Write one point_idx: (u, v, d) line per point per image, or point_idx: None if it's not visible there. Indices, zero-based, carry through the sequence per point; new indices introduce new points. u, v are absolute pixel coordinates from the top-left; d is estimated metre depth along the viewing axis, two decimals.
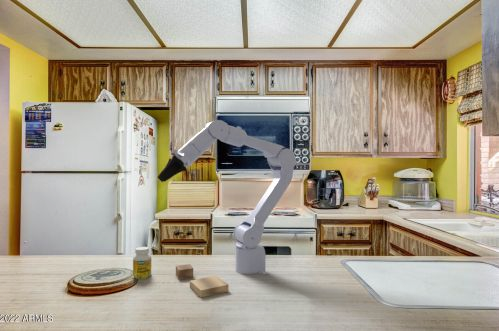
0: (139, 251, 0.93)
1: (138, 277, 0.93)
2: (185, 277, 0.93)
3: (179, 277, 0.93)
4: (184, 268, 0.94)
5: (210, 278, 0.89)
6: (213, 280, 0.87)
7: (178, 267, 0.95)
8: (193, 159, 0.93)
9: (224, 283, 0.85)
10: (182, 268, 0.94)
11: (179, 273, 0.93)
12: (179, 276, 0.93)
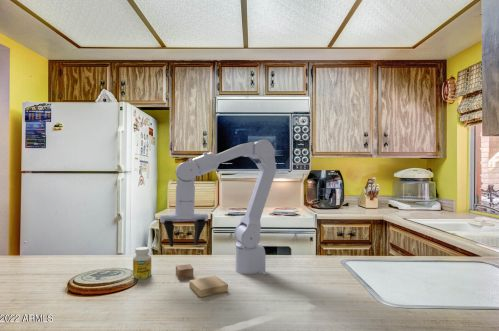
0: (139, 251, 0.93)
1: (138, 277, 0.93)
2: (185, 277, 0.93)
3: (179, 277, 0.93)
4: (184, 268, 0.94)
5: (209, 278, 0.89)
6: (212, 280, 0.87)
7: (178, 267, 0.95)
8: (180, 210, 0.93)
9: (224, 283, 0.85)
10: (182, 268, 0.94)
11: (179, 273, 0.93)
12: (179, 276, 0.93)
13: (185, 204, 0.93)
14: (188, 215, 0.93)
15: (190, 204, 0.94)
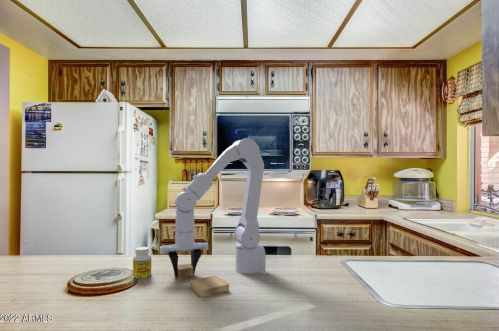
0: (139, 251, 0.93)
1: (138, 277, 0.93)
2: (185, 277, 0.93)
3: (179, 277, 0.93)
4: (184, 268, 0.94)
5: (210, 278, 0.89)
6: (213, 280, 0.87)
7: (178, 267, 0.95)
8: (179, 241, 0.93)
9: (225, 283, 0.85)
10: (182, 268, 0.94)
11: (179, 273, 0.93)
12: (179, 276, 0.93)
13: (185, 235, 0.93)
14: (188, 246, 0.93)
15: (190, 235, 0.94)
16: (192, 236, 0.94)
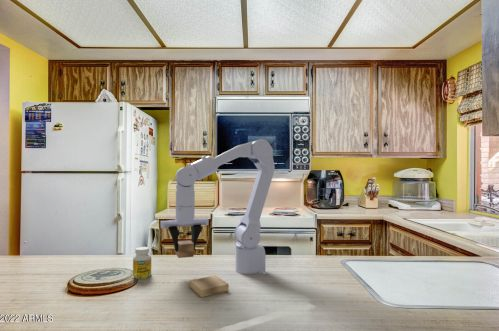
0: (139, 251, 0.93)
1: (138, 277, 0.93)
2: (186, 252, 0.93)
3: (179, 252, 0.93)
4: (185, 243, 0.94)
5: (210, 277, 0.89)
6: (212, 279, 0.87)
7: (179, 242, 0.95)
8: (180, 216, 0.93)
9: (224, 283, 0.85)
10: (183, 243, 0.94)
11: (179, 248, 0.93)
12: (179, 251, 0.93)
13: (185, 209, 0.93)
14: (188, 220, 0.93)
15: (190, 209, 0.94)
16: (192, 211, 0.95)
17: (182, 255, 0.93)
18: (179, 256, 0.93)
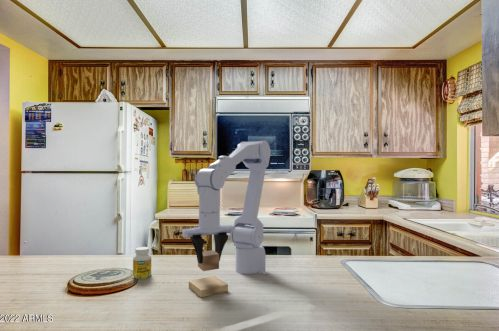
0: (139, 251, 0.93)
1: (138, 277, 0.93)
2: (211, 264, 0.83)
3: (204, 264, 0.83)
4: (209, 254, 0.84)
5: (209, 278, 0.88)
6: (212, 280, 0.87)
7: None
8: (205, 223, 0.83)
9: (223, 283, 0.85)
10: (207, 254, 0.84)
11: (204, 259, 0.83)
12: (204, 263, 0.83)
13: (211, 216, 0.83)
14: (214, 228, 0.83)
15: (216, 216, 0.84)
16: (218, 217, 0.84)
17: (207, 268, 0.83)
18: (204, 269, 0.83)
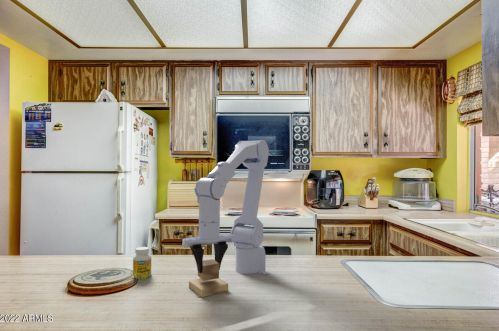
0: (139, 251, 0.93)
1: (138, 277, 0.93)
2: (211, 274, 0.83)
3: (204, 274, 0.83)
4: (209, 264, 0.84)
5: None
6: (212, 279, 0.87)
7: None
8: (205, 233, 0.83)
9: (224, 282, 0.85)
10: (207, 264, 0.84)
11: (204, 269, 0.83)
12: (204, 272, 0.83)
13: (211, 226, 0.83)
14: (214, 238, 0.83)
15: (216, 225, 0.84)
16: (218, 227, 0.84)
17: (207, 277, 0.83)
18: (204, 279, 0.83)
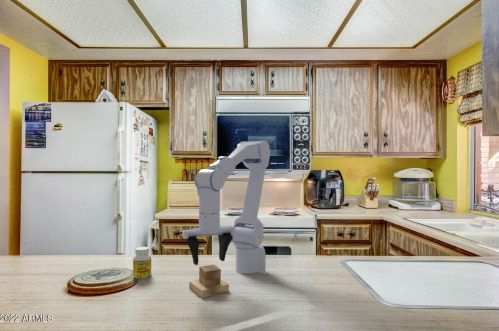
0: (139, 251, 0.93)
1: (138, 277, 0.93)
2: (212, 280, 0.83)
3: (206, 279, 0.82)
4: (211, 269, 0.84)
5: None
6: None
7: (203, 268, 0.85)
8: (205, 224, 0.83)
9: (224, 283, 0.85)
10: (208, 269, 0.84)
11: (206, 275, 0.82)
12: (206, 278, 0.82)
13: (211, 217, 0.83)
14: (214, 229, 0.83)
15: (216, 217, 0.84)
16: (218, 218, 0.84)
17: (209, 283, 0.83)
18: (205, 284, 0.82)
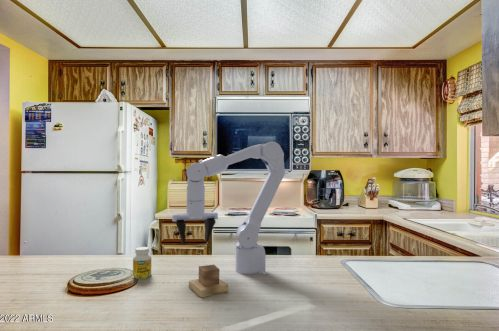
0: (139, 251, 0.93)
1: (138, 277, 0.93)
2: (211, 279, 0.83)
3: (204, 279, 0.83)
4: (209, 269, 0.84)
5: None
6: None
7: (202, 268, 0.85)
8: (191, 209, 0.97)
9: (224, 283, 0.85)
10: (207, 269, 0.84)
11: (204, 275, 0.83)
12: (204, 278, 0.83)
13: (196, 203, 0.97)
14: (199, 214, 0.98)
15: (200, 203, 0.98)
16: (203, 205, 0.99)
17: (207, 283, 0.83)
18: (204, 284, 0.83)
